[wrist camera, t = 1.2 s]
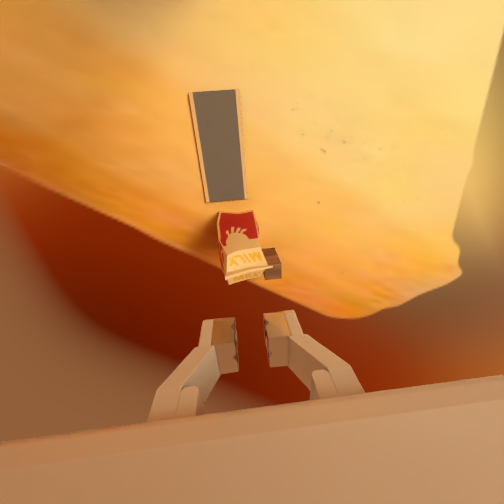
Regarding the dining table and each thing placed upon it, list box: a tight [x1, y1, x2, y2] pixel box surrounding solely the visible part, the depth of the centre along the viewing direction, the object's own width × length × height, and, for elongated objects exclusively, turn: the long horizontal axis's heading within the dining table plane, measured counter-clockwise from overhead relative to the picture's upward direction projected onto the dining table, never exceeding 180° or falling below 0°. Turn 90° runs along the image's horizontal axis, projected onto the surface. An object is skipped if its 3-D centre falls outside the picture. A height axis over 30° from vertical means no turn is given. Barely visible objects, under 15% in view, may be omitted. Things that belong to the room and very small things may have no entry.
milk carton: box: [217, 210, 273, 284], centre depth 41 cm, size 9×9×20 cm
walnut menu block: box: [261, 248, 281, 280], centre depth 50 cm, size 4×4×8 cm
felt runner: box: [189, 89, 248, 202], centre depth 43 cm, size 19×9×1 cm, turn 4°
